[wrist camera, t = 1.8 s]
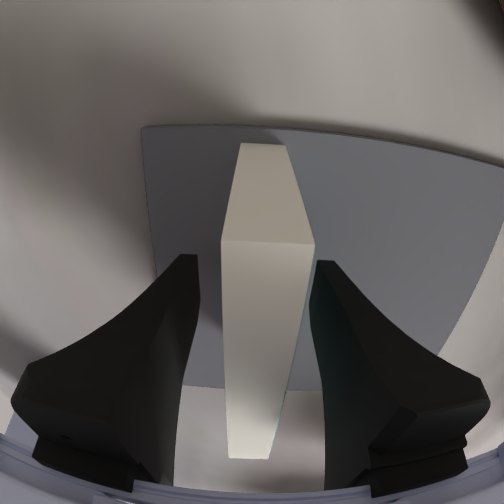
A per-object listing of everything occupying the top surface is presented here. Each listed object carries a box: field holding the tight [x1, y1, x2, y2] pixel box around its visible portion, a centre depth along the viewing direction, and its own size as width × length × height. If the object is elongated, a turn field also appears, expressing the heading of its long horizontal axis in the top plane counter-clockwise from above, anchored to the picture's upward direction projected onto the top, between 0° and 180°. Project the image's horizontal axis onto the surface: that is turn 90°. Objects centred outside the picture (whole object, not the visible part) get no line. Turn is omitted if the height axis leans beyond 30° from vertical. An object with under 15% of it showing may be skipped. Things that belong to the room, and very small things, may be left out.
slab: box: [221, 143, 315, 459], centre depth 10 cm, size 9×2×6 cm, turn 178°
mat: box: [141, 125, 504, 390], centre depth 14 cm, size 15×14×1 cm
